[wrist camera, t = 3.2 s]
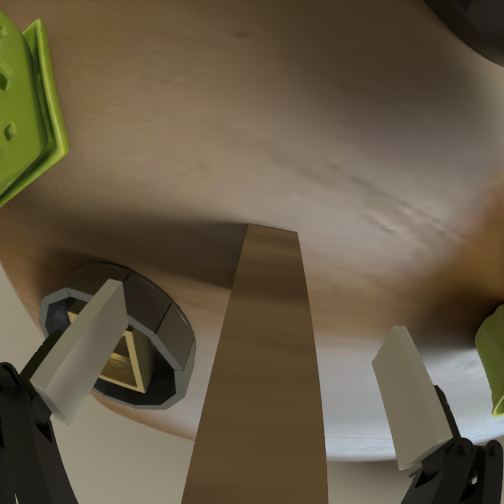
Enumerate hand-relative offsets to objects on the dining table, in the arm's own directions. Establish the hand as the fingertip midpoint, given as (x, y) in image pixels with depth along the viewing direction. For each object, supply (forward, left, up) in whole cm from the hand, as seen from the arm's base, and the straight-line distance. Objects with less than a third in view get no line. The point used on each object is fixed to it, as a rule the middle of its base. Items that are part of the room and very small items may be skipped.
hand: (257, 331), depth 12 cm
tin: (+9, -11, -6) cm, 15 cm away
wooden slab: (0, 0, -6) cm, 6 cm away
